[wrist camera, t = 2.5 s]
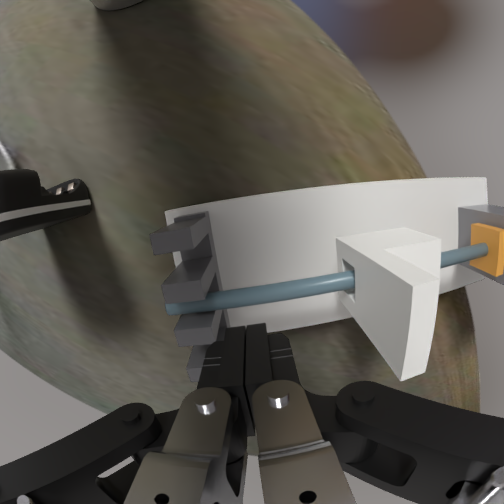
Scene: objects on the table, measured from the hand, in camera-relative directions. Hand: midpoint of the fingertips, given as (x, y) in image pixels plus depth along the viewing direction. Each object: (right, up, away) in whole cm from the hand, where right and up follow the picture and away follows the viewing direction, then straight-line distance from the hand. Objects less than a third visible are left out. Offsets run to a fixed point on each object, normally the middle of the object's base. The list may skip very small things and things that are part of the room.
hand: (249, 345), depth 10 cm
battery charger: (-16, +8, +9) cm, 20 cm away
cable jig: (+9, +4, +10) cm, 14 cm away
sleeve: (+8, +3, +6) cm, 10 cm away
